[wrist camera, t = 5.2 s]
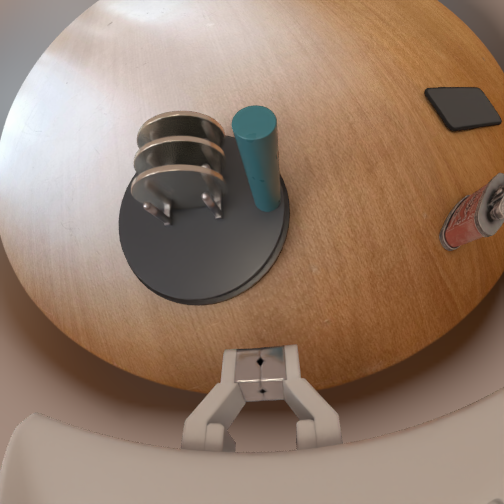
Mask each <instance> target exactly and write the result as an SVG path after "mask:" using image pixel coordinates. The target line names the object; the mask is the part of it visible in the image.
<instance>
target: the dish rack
mask: <svg viewBox="0 0 504 504" xmlns="http://www.w3.org/2000/svg"><path fill="white" fill-rule="evenodd" d="M232 129H233V133H234V136H235V138H234V137H230V136H226V135H225V132H224V129H223V127H222V126H221V125H220V124H219V123H218V122H217V121H216V120H214V119H213V118H211V117H209V116H207V115H204V114H201V113H197V112H192V111H172V112H167V113H163V114H159V115H157V116H155V117H153V118H151V119H149V120H148V121H146V122H145V123H144V124H143V125H142V126H141V128H140V129H139V131H138V135H137V145H138V147H139V150H138V151H137V153H136V155H135V157H134V168H135V170H136V174H135V175H134V177H133V178H132V180H131V181H130V183H129V185H128V187H127V189H126V192H125V194H124V197H123V200H122V204H121V208H120V214H119V236H120V242H121V246H122V250H123V252H124V255H125V257H126V260H127V261H128V263H129V265H130V266H131V268H132V269H133V271H134V272H135V273H136V274H137V276H138V277H139V278H140V279H141V280H142V281H143V282H144V283H146V284H147V285H148V286H150V287H151V288H153V289H154V290H156V291H158V292H160V293H162V294H165V295H168V296H171V297H174V298H180V299H187V300H202V299H210V298H214V297H218V296H222V295H224V294H227V293H229V292H232V291H234V290H236V289H237V288H239V287H241V286H242V285H244V284H245V283H247V282H248V281H249V280H251V279H252V278H253V277H254V276H255V275H256V274H257V273H258V272H259V271H260V270H261V269H262V268H263V267H264V266H265V264H266V263H267V261H268V260H269V259H270V257H271V256H272V254H273V252H274V250H275V248H276V246H277V244H278V241H279V239H280V236H281V232H282V228H283V223H284V196H283V191H282V186H281V184H280V171H279V152H278V134H277V119H276V116H275V115H274V113H273V112H272V111H271V110H269V109H268V108H266V107H263V106H248V107H245V108H243V109H241V110H240V111H238V112H237V113H236V114H235V116H234V117H233V120H232Z"/></svg>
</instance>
